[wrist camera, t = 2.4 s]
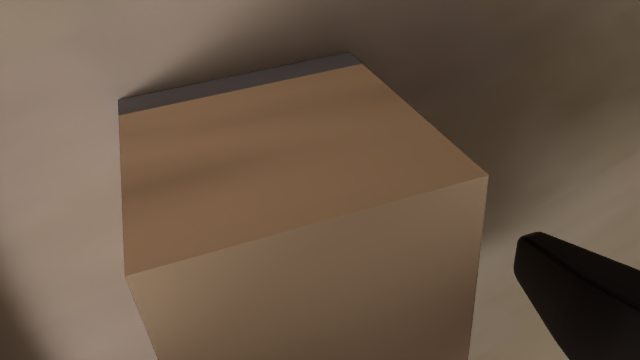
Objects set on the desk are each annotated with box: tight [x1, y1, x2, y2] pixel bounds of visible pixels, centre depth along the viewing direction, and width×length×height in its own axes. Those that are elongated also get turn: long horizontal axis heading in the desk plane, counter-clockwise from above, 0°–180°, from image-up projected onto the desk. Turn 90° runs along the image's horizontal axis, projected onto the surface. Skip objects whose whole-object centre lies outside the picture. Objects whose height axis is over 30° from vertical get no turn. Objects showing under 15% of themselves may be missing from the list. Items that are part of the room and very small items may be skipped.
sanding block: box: [118, 52, 489, 360], centre depth 10 cm, size 7×4×5 cm, turn 5°
